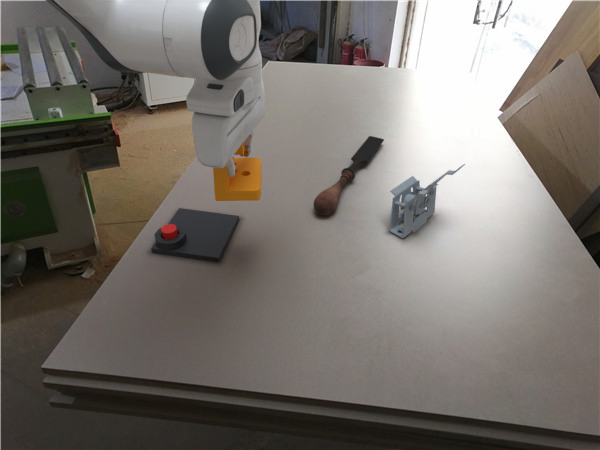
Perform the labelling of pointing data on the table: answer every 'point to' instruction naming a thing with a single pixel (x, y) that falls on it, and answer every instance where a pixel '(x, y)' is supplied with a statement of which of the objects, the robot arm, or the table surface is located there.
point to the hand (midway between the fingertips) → (238, 164)
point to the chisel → (346, 176)
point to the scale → (197, 235)
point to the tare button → (169, 231)
